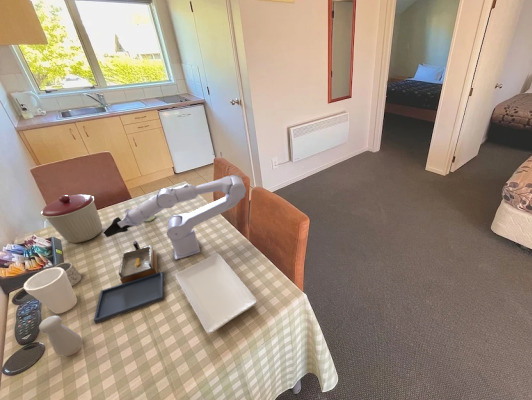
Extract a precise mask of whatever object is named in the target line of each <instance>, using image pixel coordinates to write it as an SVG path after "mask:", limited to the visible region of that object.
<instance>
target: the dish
mask: <svg viewBox="0 0 532 400" xmlns="http://www.w3.org/2000/svg"><path fill="white" fill-rule="evenodd" d="M133 247H134V249H131V250H128V251H126V252H122V253H121V257H120V258H121V259H120V264H119V269H118V275H119V278H120V277H121V278H125V277H128V276H131V275H135V274H138V273H141V272H144V271H148V270H151V269H153V252H154V250H155V249H154V247H153V245H152V244H150V245H146V246H143V247H140V245H139V243H138V240H135V241H133ZM137 258H140V265H139V266H137V267H136V266H135V263H136V259H137Z"/></svg>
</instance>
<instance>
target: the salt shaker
mask: <svg viewBox="0 0 532 400" xmlns="http://www.w3.org/2000/svg"><path fill="white" fill-rule="evenodd" d="M38 329H39V331H40V333H42V334H46V335H47V338H48V340H49V342H50V345H51V347H52V349H53V351H54V353H55V354H56V355H57V356H62V357H70V356H72V355H75V354H76V353H77V352H78V351H79V350H80V349H81V348H82V341H83V340H82V339H83V338H82V336H81V335H80V334H79V333H77V332H76V331H74V330H72V328H70V327H68V326H66V325H65V324H63V320H62V318H61V317H60V316H59V315H52V316H48V317H47V318H45V319H43V320H42V321H41V322H40V323H39V326H38Z"/></svg>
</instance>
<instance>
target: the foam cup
mask: <svg viewBox="0 0 532 400" xmlns="http://www.w3.org/2000/svg"><path fill="white" fill-rule="evenodd" d="M23 290H24V291H25V292H26V293H27V294H29V295H30V296H32V297H33V298H34V299H36V300H37V301H38V302H40V303H41V304H42V305H43V306H44V307H46V308H47V309H48V310H50V311H51V312H53V313H54V314H55V315H57V314H62V313H66V312H68V311H70V310H71V309H72V308H74V307H75V306H76V304H77V303H78V298H77V296H76V293H75V292H74V289H73V286H71V284H70V282H69V280H68V277H67V274H66V272H65V271H64V269H62V268H60V267H55V266H53V267H50V268H46V269H43V270H41V271H38V272H37V273H34V274H33V275H32V276H30V277H29V278H28V279H27V280H26V281H25V282H24V283H23Z"/></svg>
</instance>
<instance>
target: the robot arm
mask: <svg viewBox="0 0 532 400" xmlns="http://www.w3.org/2000/svg"><path fill="white" fill-rule="evenodd" d="M215 192H221V193H223V194H225V195H224V197H221V198H220V199H217V200H215V201H213V202H210V203H209V204H206V205H204V206H203V207H200V208H198V209H196V210H193V211H191V212H189V213H185V212H183V213H181V214H174V215H172V216H170V217H169V218H168V220H167V223H168V224H167V231H166V236H167V238H168V239H169V240H170V243H171V246H172V249H173V251H174V260H179V259H180V260H181V259H183V258H186V257H190V256H193V255H196V254H200V253H201V249H200V242H199V240H198V238H197V237H198V236H197V234H196V230H195V229H194V228H195V226H197V225H200V224H202V223H204V222H206V221H208V220H210V219H213V218H215V217H217V216H218V215H221V214H223V213H225V212H227V211H229V210H231V209H233V208H235V207H236V206H237V205H238V204H239V203H240V202H241V200H242V199H244V198H245V197H246V193H247V188H246V186H245V184H244V181H243V178H242V177H241V176H240V175H238V174H232V175H226V176H224V177H222V178H219V179H216V180H212V181H209V182H205V183H202V184H199V185H194V184H191V183H190V184H188V183H185V184H183V185H181V186H177V187H170V188H168V187H165V188H160V189H159V190H158V192H157V194H156V195H153V196H152V197H150V198H149V199H147V200H145V201H144V202H142V203H141V204H139V205H137V206H135V207H134V208H132V209H129V208H126V209H124V210H123V211H124V213H125V214H124V216H123V218H122V219H121V218H120V217H119V216H118V217H114V219H113V220H112V223H110V225H109V226H108V227H107V228H105V230H104V231H102V233H103V235H104V236H105V237H106V238H109V237H112V236H114V235H116V234H120V233H126V232H128V231H129V228H132V227H138V226H140V225H141V224H143V223H144V222H146V221H145V220H147V219H149V218H150V217H152V216H153V215H154V216H155V215H157V214H158V213H160V212H161V211H162V210H164V209H172V208H173V207H175V206H176V204H179V203H184V202H187V201H191V200H195V199H196V198H197V197H198V196H199V195H204V194H209V193H215Z"/></svg>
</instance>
